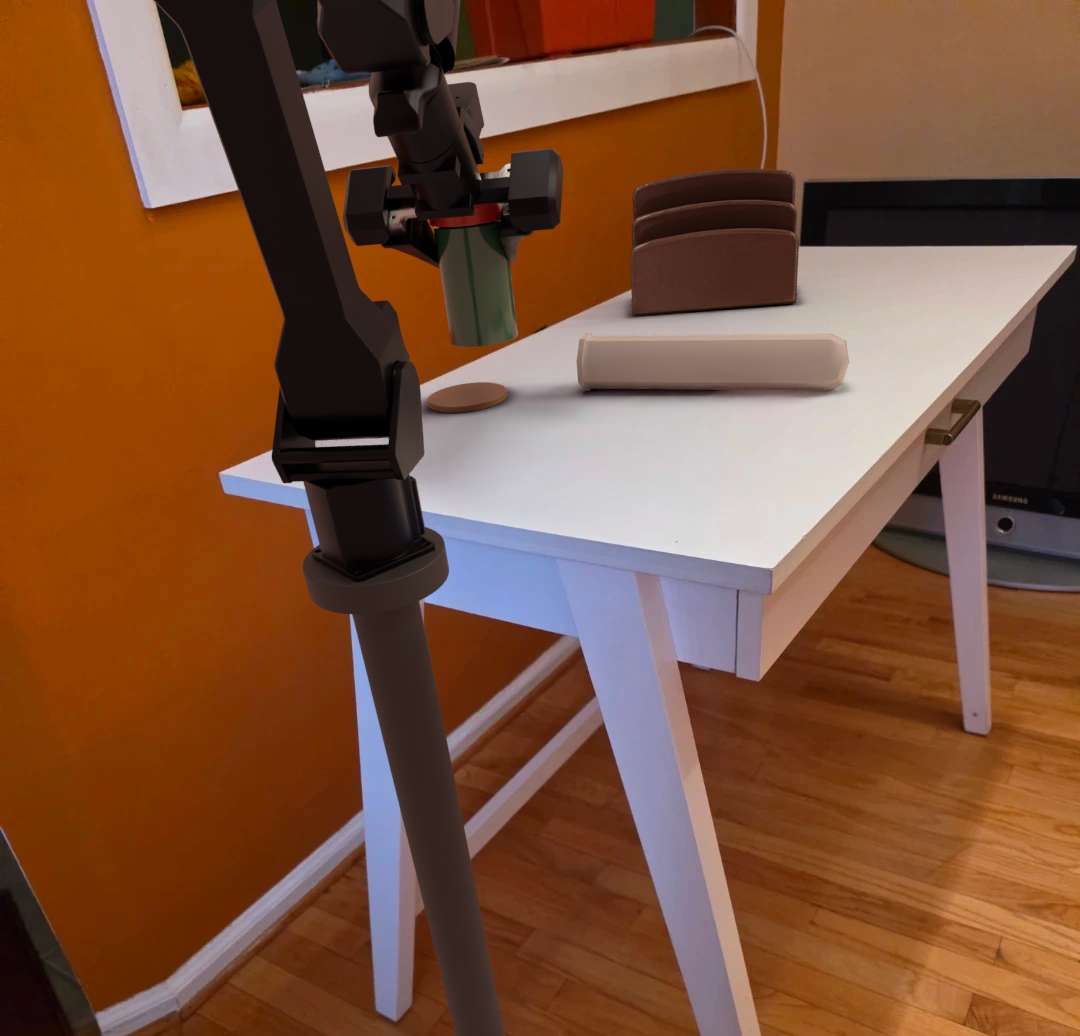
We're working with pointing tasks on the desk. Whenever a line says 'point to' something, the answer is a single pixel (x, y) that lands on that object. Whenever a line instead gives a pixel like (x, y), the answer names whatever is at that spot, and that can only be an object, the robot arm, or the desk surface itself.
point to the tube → (713, 362)
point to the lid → (471, 217)
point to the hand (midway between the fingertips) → (478, 261)
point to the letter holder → (714, 241)
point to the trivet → (467, 397)
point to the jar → (476, 285)
